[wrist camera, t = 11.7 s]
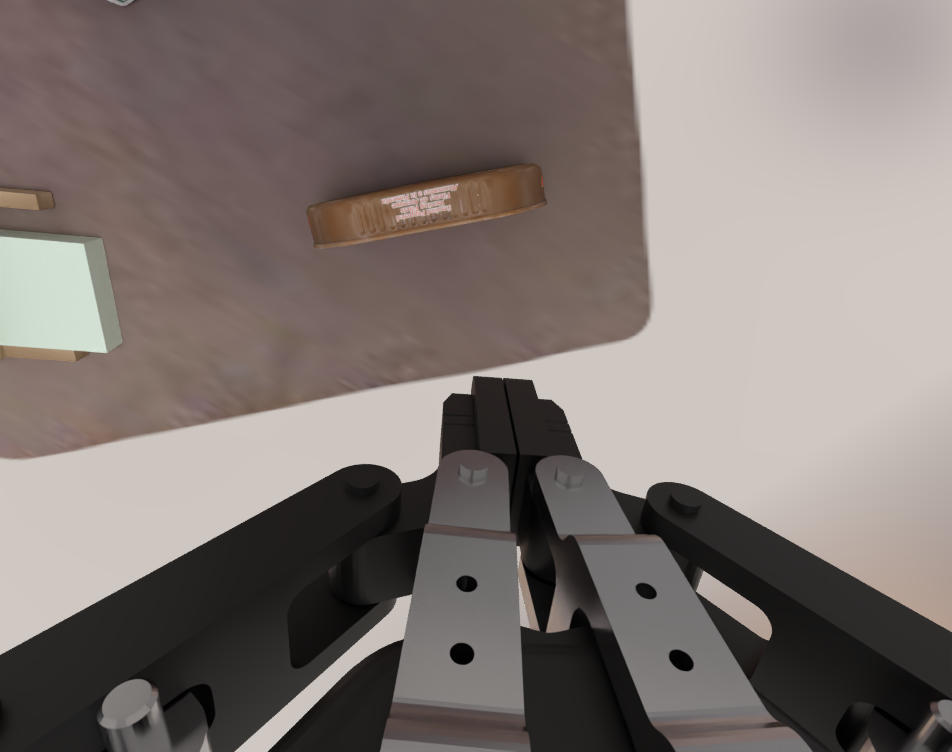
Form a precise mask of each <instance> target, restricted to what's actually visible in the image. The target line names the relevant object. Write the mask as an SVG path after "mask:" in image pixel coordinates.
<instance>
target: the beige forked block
mask: <svg viewBox="0 0 952 752" xmlns="http://www.w3.org/2000/svg"><path fill="white" fill-rule="evenodd" d="M0 207H8V208H20V209H31V210H43V209H48V208H53V207H55V206H54V201H53V197H52V193H51V192H46V191H35V190H24V189H13V188H2V187H0ZM88 354H89V352H88V351H74V350H60V349H46V348H33V347H19V346H5V345H0V360H1V359H3V358H5V357H15V358H30V359H44V360H59V361H74V362H77V361H78V360H80V359H82V358H83V357H85V356H87V355H88Z"/></svg>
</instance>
